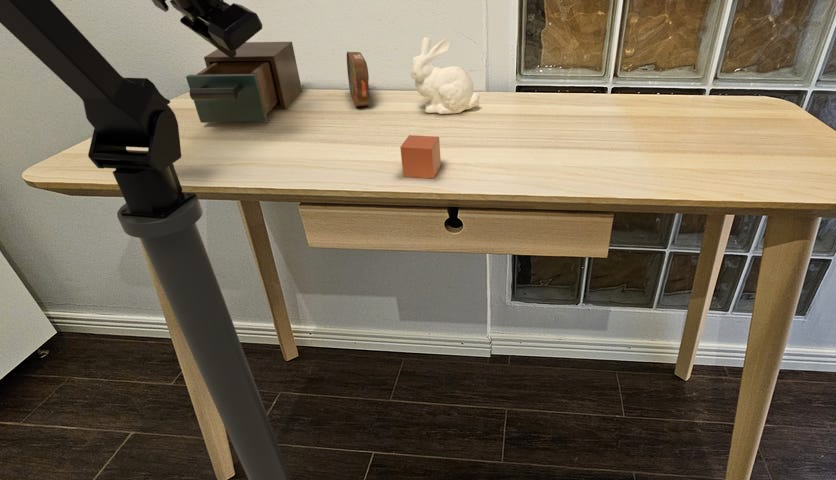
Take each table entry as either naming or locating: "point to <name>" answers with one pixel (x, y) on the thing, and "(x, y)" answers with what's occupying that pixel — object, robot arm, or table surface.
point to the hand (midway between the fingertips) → (232, 55)
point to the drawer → (234, 91)
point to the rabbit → (442, 81)
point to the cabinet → (280, 63)
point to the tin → (358, 78)
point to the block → (420, 156)
